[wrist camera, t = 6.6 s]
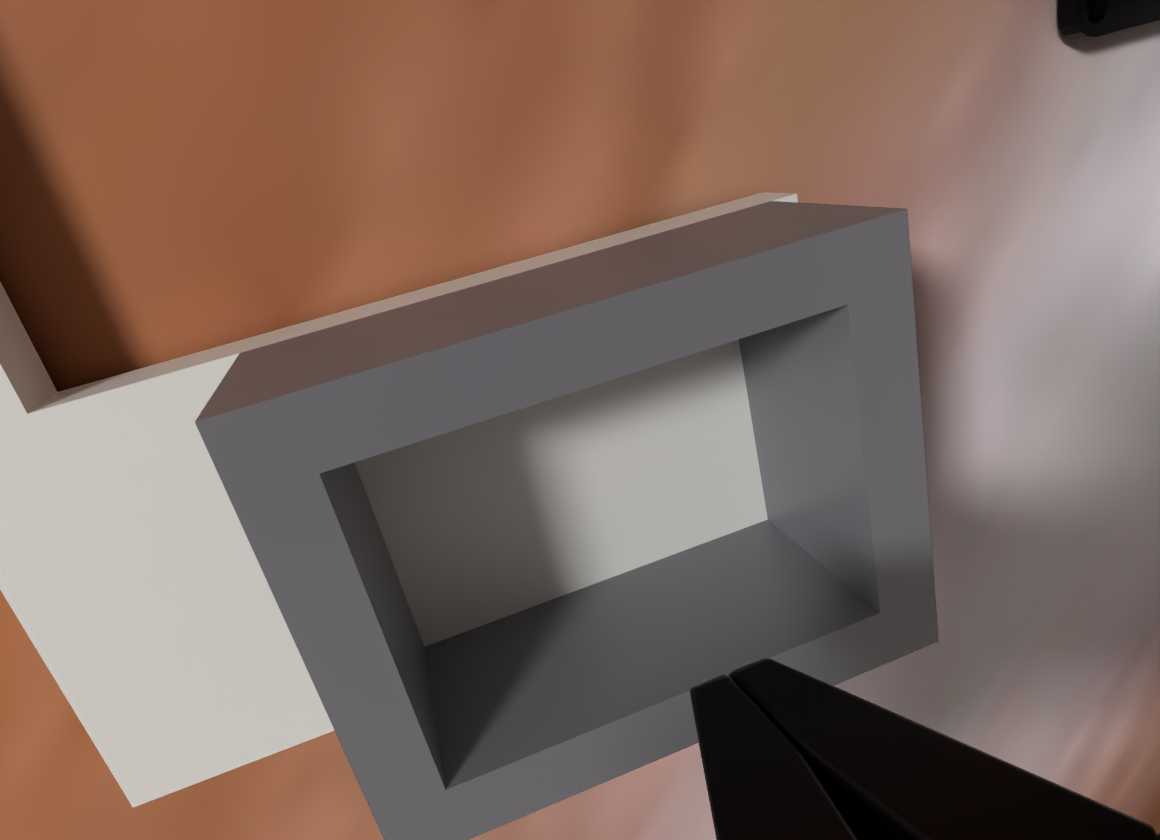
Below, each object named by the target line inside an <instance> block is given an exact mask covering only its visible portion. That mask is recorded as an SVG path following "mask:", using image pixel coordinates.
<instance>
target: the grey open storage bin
mask: <svg viewBox="0 0 1160 840" xmlns="http://www.w3.org/2000/svg"><path fill="white" fill-rule="evenodd" d="M0 590H1V592H2V593H3V595H4V597H5V598H6V600H7V602H8V603H9V605H10V606H11V608H12V610H13V611H14V613H15V615H16V616H17V618H18V620H19V621H20V623H21V625H22V626H23V628H24V629H25V631H26V633H27V634H28V636H29V638H30V639H31V641H32V643H33V644H34V646H35V647H36V649H37V651H38V652H39V654H40V656H41V657H42V659H43V661H44V662H45V664H46V666H47V667H48V669H49V670H50V672H51V674H52V675H53V677H54V679H55V680H56V682H57V684H58V685H59V687H60V689H61V690H62V692H63V693H64V695H65V697H66V698H67V700H68V702H69V703H70V705H71V707H72V708H73V710H74V712H75V713H76V715H77V716H78V718H79V720H80V721H81V723H82V725H83V726H84V728H85V730H86V731H87V733H88V734H89V736H90V738H91V739H92V741H93V743H94V744H95V746H96V748H97V749H98V751H99V753H100V754H101V756H102V757H103V759H104V761H105V762H106V764H107V766H108V767H109V769H110V771H111V772H112V774H113V776H114V777H115V779H116V780H117V782H118V784H119V785H120V787H121V789H122V790H123V792H124V794H125V795H126V797H127V799H128V800H129V802H130V803H131V805H132V807H136V806H138V805H141V804H144V803H146V802H149V801H151V800H154V799H157V798H159V797H162V796H164V795H167V794H170V793H172V792H175V791H178V790H180V789H183V788H185V787H188V786H191V785H193V784H196V783H198V782H201V781H204V780H206V779H209V778H212V777H214V776H217V775H219V774H222V773H225V772H227V771H230V770H232V769H235V768H238V767H240V766H243V765H245V764H248V763H251V762H253V761H256V760H259V759H261V758H264V757H266V756H269V755H272V754H274V753H277V752H279V751H282V750H285V749H287V748H290V747H292V746H295V745H298V744H300V743H303V742H306V741H308V740H311V739H313V738H316V737H319V736H321V735H324V734H326V733H329V732H332V731H334V730H335V732H336V734H337V737H338V739H339V741H340V743H341V746H342V748H343V750H344V752H345V754H346V757H347V759H348V761H349V763H350V765H351V768H352V770H353V772H354V774H355V776H356V779H357V781H358V783H359V785H360V787H361V790H362V792H363V794H364V796H365V798H366V801H367V803H368V805H369V807H370V809H371V812H372V814H373V816H374V818H375V820H376V823H377V825H378V827H379V829H380V831H381V834H382V836H383V838H384V840H469V839H472V838H474V837H476V836H479V835H481V834H483V833H486V832H488V831H490V830H493V829H495V828H498V827H500V826H502V825H505V824H507V823H509V822H512V821H514V820H516V819H519V818H521V817H524V816H526V815H528V814H531V813H533V812H535V811H538V810H540V809H542V808H545V807H547V806H550V805H552V804H554V803H557V802H559V801H561V800H564V799H566V798H569V797H571V796H573V795H576V794H578V793H580V792H583V791H585V790H587V789H590V788H592V787H595V786H597V785H599V784H602V783H604V782H606V781H609V780H611V779H613V778H616V777H618V776H621V775H623V774H625V773H628V772H630V771H632V770H635V769H637V768H640V767H642V766H644V765H647V764H649V763H651V762H654V761H656V760H658V759H661V758H663V757H666V756H668V755H670V754H673V753H675V752H677V751H680V750H682V749H684V748H687V747H689V746H692V745H694V744H696V743H699V741H698V735H697V730H696V724H695V719H694V713H693V708H692V702H691V697H690V689H691V687H692V686H693V685H695V684H697V683H700V682H702V681H704V680H707V679H709V678H712V677H714V676H717V675H719V674H726V675H729V673H730V672H731V670H732V669H734V668H736V667H739V666H741V665H744V664H746V663H748V662H751V661H753V660H756V659H758V658H763V657H764V658H770V659H773V660H775V661H777V662H779V663H782V664H784V665H786V666H789V667H791V668H793V669H795V670H798V671H800V672H802V673H805V674H807V675H809V676H811V677H814V678H816V679H818V680H821V681H823V682H825V683H827V684H830V685H832V686H834V685H836V684H838V683H841V682H843V681H845V680H848V679H850V678H852V677H855V676H857V675H860V674H862V673H864V672H867V671H869V670H871V669H874V668H876V667H878V666H881V665H883V664H886V663H888V662H890V661H893V660H895V659H897V658H900V657H902V656H904V655H907V654H909V653H912V652H914V651H916V650H919V649H921V648H923V647H926V646H928V645H931V644H933V643H935V642H938V627H937V613H936V599H935V586H934V572H933V558H932V544H931V530H930V517H929V503H928V489H927V475H926V461H925V448H924V434H923V420H922V406H921V392H920V379H919V365H918V351H917V337H916V323H915V310H914V296H913V282H912V268H911V254H910V240H909V227H908V213H907V209H901V208H884V207H866V206H849V205H832V204H814V203H798V200H797V194H792V193H765V192H762V193H759V194H755V195H752V196H748V197H745V198H741V199H737V200H734V201H730V202H727V203H723V204H720V205H716V206H713V207H709V208H706V209H702V210H699V211H695V212H692V213H688V214H685V215H681V216H677V217H674V218H670V219H667V220H663V221H660V222H656V223H653V224H649V225H646V226H642V227H639V228H635V229H632V230H628V231H624V232H621V233H617V234H614V235H610V236H607V237H603V238H600V239H596V240H593V241H589V242H586V243H582V244H579V245H575V246H571V247H568V248H564V249H561V250H557V251H554V252H550V253H547V254H543V255H540V256H536V257H533V258H529V259H526V260H522V261H519V262H515V263H511V264H508V265H504V266H501V267H497V268H494V269H490V270H487V271H483V272H480V273H476V274H473V275H469V276H466V277H462V278H458V279H455V280H451V281H448V282H444V283H441V284H437V285H434V286H430V287H427V288H423V289H420V290H416V291H413V292H409V293H405V294H402V295H398V296H395V297H391V298H388V299H384V300H381V301H377V302H374V303H370V304H367V305H363V306H360V307H356V308H353V309H349V310H345V311H342V312H338V313H335V314H331V315H328V316H324V317H321V318H317V319H314V320H310V321H307V322H303V323H300V324H296V325H292V326H289V327H285V328H282V329H278V330H275V331H271V332H268V333H264V334H261V335H257V336H254V337H250V338H247V339H243V340H239V341H236V342H232V343H229V344H225V345H222V346H218V347H215V348H211V349H208V350H204V351H201V352H197V353H194V354H190V355H187V356H183V357H179V358H176V359H172V360H169V361H165V362H162V363H158V364H155V365H151V366H148V367H144V368H141V369H137V370H134V371H130V372H126V373H123V374H119V375H116V376H112V377H109V378H105V379H102V380H98V381H95V382H91V383H88V384H84V385H81V386H77V387H73V388H70V389H66V390H63V391H59V392H57V390H56V388H55V386H54V384H53V382H52V381H51V379H50V377H49V375H48V373H47V371H46V369H45V367H44V365H43V363H42V361H41V359H40V357H39V355H38V353H37V352H36V350H35V348H34V346H33V344H32V342H31V340H30V338H29V336H28V334H27V332H26V330H25V328H24V326H23V324H22V323H21V321H20V319H19V317H18V315H17V313H16V311H15V309H14V307H13V305H12V303H11V301H10V299H9V297H8V296H7V294H6V292H5V290H4V288H3V286H2V284H1V282H0Z"/></svg>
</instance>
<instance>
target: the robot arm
mask: <svg viewBox="0 0 1160 840" xmlns="http://www.w3.org/2000/svg"><path fill="white" fill-rule="evenodd" d="M1087 3H1088V6H1089V14H1088V18H1087V15H1086V8H1087ZM1158 20H1160V0H1058V23H1059V29H1060V30H1061V32H1062V34H1063V35H1064V36H1065V37H1066V38H1068V39H1069V40H1082V39H1087V38H1092V37H1097V36H1101V35H1105V34H1108V33H1112V32H1116V31H1120V30H1124V29H1127V28H1131V27H1135V26H1139V25H1142V24H1146V23H1150V22H1154V21H1158ZM690 697H691V702H692V708H693V713H694V719H695V724H696V730H697V735H698V741H699V746H700V752H701V757H702V763H703V768H704V774H705V779H706V785H707V790H708V796H709V801H710V806H711V812H712V817H713V823H714V828H715V834H716V839H717V840H1160V833H1159V834H1158V835H1157V833H1156V831H1155V829H1154V828H1153V827H1152V826H1151V825H1149V824H1147V823H1144V822H1142V821H1140V820H1138V819H1135V818H1133V817H1131V816H1129V815H1126V814H1124V813H1122V812H1119V811H1117V810H1115V809H1113V808H1110V807H1108V806H1106V805H1103V804H1101V803H1099V802H1097V801H1094V800H1092V799H1090V798H1087V797H1085V796H1083V795H1081V794H1078V793H1076V792H1074V791H1071V790H1069V789H1067V788H1065V787H1062V786H1060V785H1058V784H1056V783H1053V782H1051V781H1049V780H1046V779H1044V778H1042V777H1040V776H1037V775H1035V774H1033V773H1030V772H1028V771H1026V770H1024V769H1021V768H1019V767H1017V766H1014V765H1012V764H1010V763H1008V762H1005V761H1003V760H1001V759H998V758H996V757H994V756H992V755H989V754H987V753H985V752H983V751H980V750H978V749H976V748H973V747H971V746H969V745H967V744H964V743H962V742H960V741H957V740H955V739H953V738H951V737H948V736H946V735H944V734H941V733H939V732H937V731H935V730H932V729H930V728H928V727H925V726H923V725H921V724H919V723H916V722H914V721H912V720H909V719H907V718H905V717H903V716H900V715H898V714H896V713H894V712H891V711H889V710H887V709H884V708H882V707H880V706H878V705H875V704H873V703H871V702H868V701H866V700H864V699H862V698H859V697H857V696H855V695H852V694H850V693H848V692H846V691H843V690H841V689H839V688H836V687H834V686H832V685H830V684H827V683H825V682H823V681H821V680H818V679H816V678H814V677H811V676H809V675H807V674H805V673H802V672H800V671H798V670H795V669H793V668H791V667H789V666H786V665H784V664H782V663H779V662H777V661H775V660H773V659H770V658H764V657H763V658H758V659H756V660H753V661H751V662H748V663H746V664H744V665H741V666H739V667H736V668H734V669H732V670H731V672H730V673H729V675H726V674H719V675H717V676H714V677H712V678H709V679H707V680H704V681H702V682H700V683H697V684H695V685H693V686H692V687H691V689H690Z"/></svg>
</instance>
